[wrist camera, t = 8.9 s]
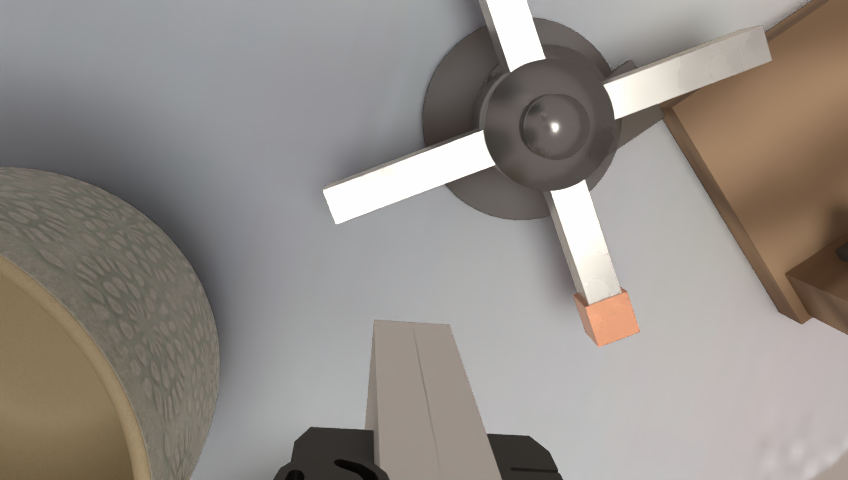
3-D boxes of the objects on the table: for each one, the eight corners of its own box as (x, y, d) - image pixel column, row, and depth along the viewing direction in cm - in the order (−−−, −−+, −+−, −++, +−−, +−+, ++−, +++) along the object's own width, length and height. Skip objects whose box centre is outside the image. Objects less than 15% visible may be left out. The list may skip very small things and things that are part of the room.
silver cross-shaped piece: (407, 375, 36) (414, 432, 30) (257, -6, 33) (229, -29, 26) (769, 240, 36) (849, 270, 30) (657, -157, 32) (722, -216, 26)
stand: (383, 94, 35) (385, 94, 28) (781, -183, 33) (886, -255, 27) (608, 424, 38) (659, 497, 31) (973, 185, 37) (1109, 205, 30)
